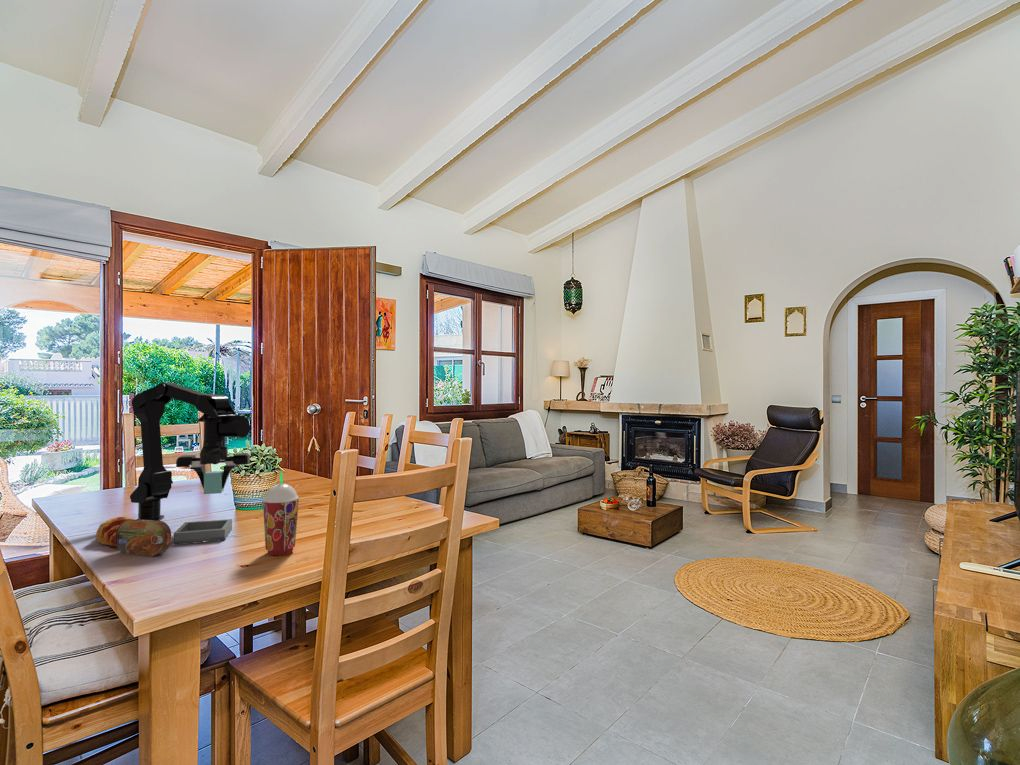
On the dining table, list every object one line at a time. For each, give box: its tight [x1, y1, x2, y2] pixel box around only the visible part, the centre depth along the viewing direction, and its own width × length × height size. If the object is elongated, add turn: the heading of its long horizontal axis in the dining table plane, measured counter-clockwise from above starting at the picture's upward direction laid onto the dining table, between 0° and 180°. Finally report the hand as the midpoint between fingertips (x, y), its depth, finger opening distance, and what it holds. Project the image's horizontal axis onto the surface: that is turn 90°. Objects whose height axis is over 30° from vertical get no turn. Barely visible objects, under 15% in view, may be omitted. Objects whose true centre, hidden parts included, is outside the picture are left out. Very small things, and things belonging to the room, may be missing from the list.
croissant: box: [95, 516, 136, 547], centre depth 140 cm, size 21×10×8 cm, turn 41°
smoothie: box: [262, 472, 300, 557], centre depth 131 cm, size 8×8×20 cm
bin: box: [173, 518, 233, 545], centre depth 144 cm, size 12×12×3 cm
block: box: [203, 470, 225, 495], centre depth 156 cm, size 4×4×6 cm
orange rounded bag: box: [115, 518, 172, 557], centre depth 129 cm, size 15×3×8 cm, turn 76°
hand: (213, 488), depth 156 cm, fingers closed on block, 4 cm apart
